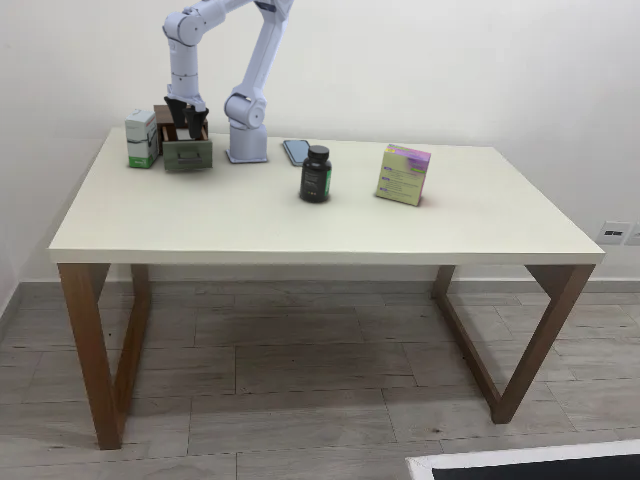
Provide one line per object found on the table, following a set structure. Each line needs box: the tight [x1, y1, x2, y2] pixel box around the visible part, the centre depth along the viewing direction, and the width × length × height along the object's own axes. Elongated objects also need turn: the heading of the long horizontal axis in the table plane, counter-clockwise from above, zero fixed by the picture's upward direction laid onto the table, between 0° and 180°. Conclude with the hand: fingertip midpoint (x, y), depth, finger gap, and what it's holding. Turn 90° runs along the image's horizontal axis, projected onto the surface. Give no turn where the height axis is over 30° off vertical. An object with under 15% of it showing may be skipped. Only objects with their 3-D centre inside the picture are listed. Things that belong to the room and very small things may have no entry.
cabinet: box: [153, 104, 209, 156], centre depth 133 cm, size 14×13×9 cm
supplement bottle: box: [299, 144, 333, 204], centre depth 114 cm, size 7×7×12 cm
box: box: [375, 143, 432, 207], centre depth 119 cm, size 10×6×12 cm, turn 71°
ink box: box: [124, 108, 159, 169], centre depth 121 cm, size 9×5×12 cm, turn 179°
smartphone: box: [282, 139, 311, 167], centre depth 137 cm, size 7×1×15 cm
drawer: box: [162, 125, 214, 171], centre depth 122 cm, size 17×11×7 cm
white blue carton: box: [176, 129, 195, 142], centre depth 124 cm, size 4×7×6 cm, turn 19°
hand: (187, 132), depth 116 cm, fingers open, 7 cm apart
